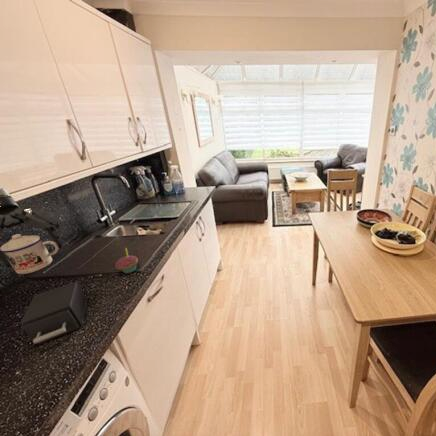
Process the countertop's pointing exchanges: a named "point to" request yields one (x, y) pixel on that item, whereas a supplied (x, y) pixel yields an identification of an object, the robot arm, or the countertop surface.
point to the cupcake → (127, 263)
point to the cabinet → (57, 303)
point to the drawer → (51, 326)
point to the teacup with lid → (27, 253)
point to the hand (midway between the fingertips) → (36, 255)
